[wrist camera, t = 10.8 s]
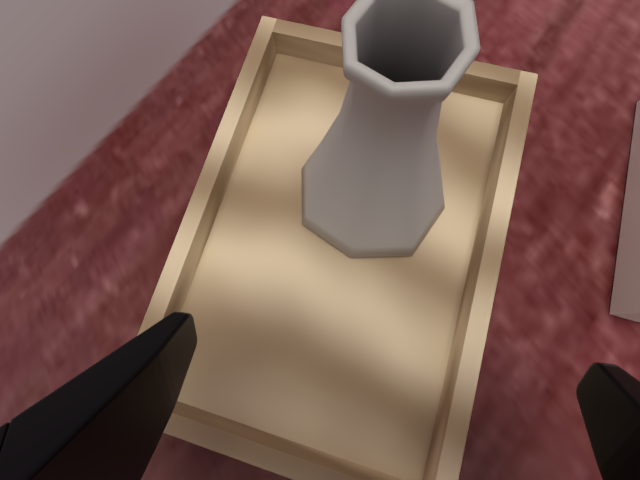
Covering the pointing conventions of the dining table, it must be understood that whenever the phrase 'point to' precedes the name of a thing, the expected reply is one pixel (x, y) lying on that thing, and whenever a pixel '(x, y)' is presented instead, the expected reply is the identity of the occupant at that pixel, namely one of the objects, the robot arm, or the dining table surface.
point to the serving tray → (337, 280)
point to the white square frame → (629, 239)
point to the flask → (388, 126)
